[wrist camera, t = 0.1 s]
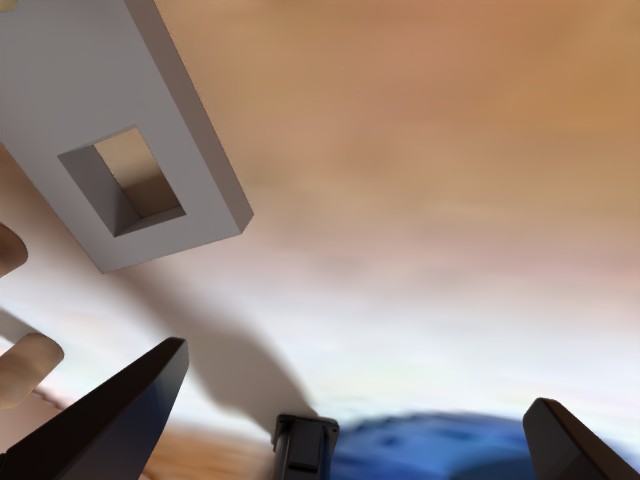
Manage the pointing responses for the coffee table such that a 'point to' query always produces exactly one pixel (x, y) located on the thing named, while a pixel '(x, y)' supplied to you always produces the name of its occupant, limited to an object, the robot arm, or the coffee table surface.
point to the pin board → (111, 126)
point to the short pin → (26, 367)
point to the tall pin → (11, 251)
